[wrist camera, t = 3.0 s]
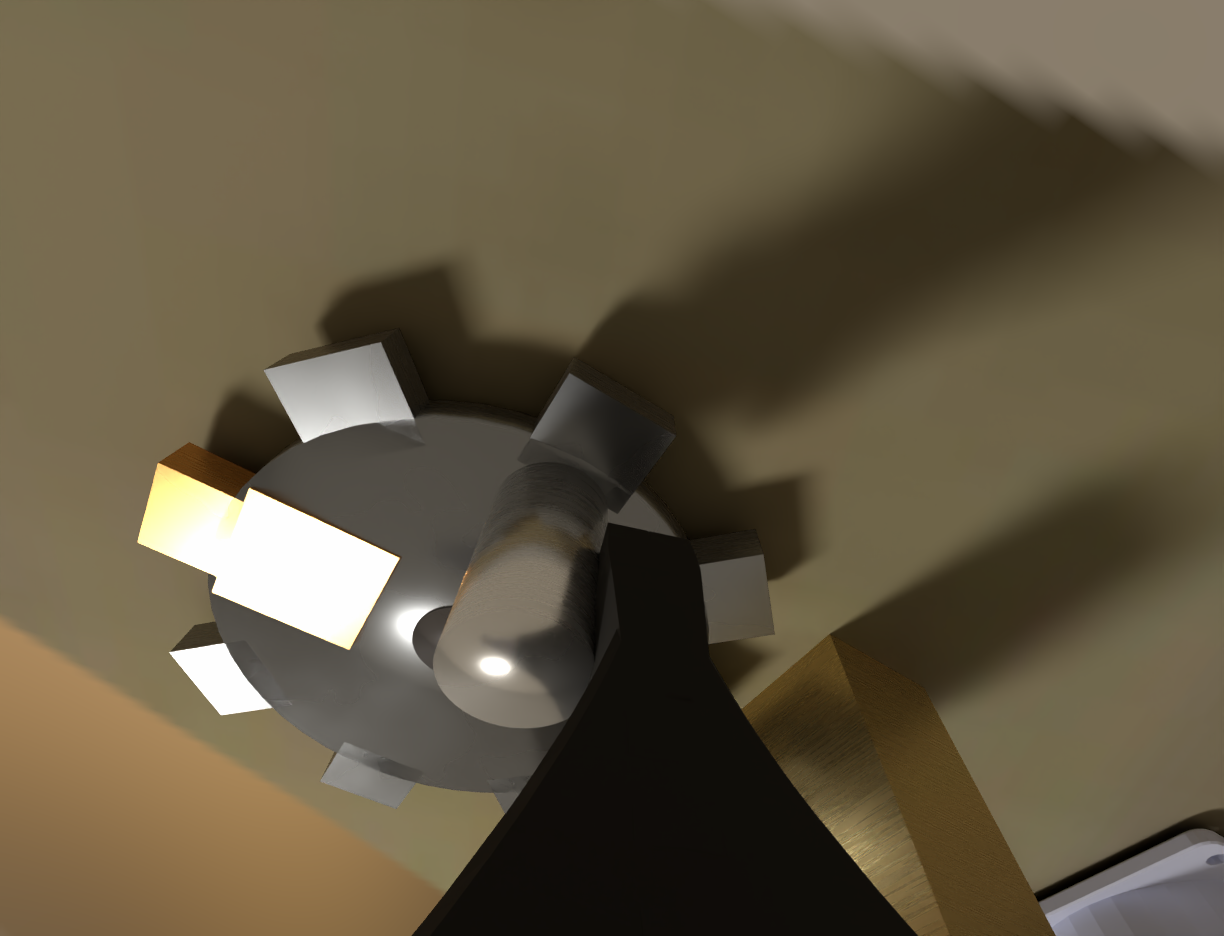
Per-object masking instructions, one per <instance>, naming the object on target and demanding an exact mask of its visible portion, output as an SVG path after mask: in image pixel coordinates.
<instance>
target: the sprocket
mask: <svg viewBox="0 0 1224 936" xmlns="http://www.w3.org/2000/svg"><path fill="white" fill-rule="evenodd" d="M264 371H265V373H266V375H267V377H268V379H269V380H270V382H271V384H272V386H273V388H274V390H275V391H276V393H277V395H278V397H279V399H280V401H281V403H282V404H283V406H284V408H285V410H286V412H287V414H288V415H289V417H290V419H291V421H292V423H293V425H294V426H295V428H296V430H297V432H298V434H299V436H300V438H299V439H297V440H296V441H294V442H293V443H291V444H290V445H289V446H287V447H286V448H285V449H284V450H282V451H281V452H280V453H279V454H278V455H277V456H276V457H274V458H273V459H272V460H271V461H270V462H269V463H267V464H266V465H265V466H264V467H263V468H262V469H261V470H260V471H259V472H258V473H257V474H255V473H253V472H251V471H249V470H247V469H244V468H242V467H240V466H238V465H236V464H234V463H232V462H230V461H228V460H226V459H223V458H221V457H219V456H217V455H215V454H213V453H211V452H209V451H207V450H204V449H202V448H200V447H198V446H196V445H194V444H192V443H190V442H189V443H187V444H186V445H184V446H183V447H181V448H180V449H178V450H177V451H175V452H174V453H172V454H171V455H169V456H168V457H166V458H165V459H163V460H162V461H160V462H159V463H158V466H157V469H156V473H155V477H154V481H153V485H152V489H151V493H150V496H149V500H148V504H147V508H146V512H145V516H144V520H143V523H142V527H141V531H140V535H139V539H138V543H140V544H143V545H145V546H147V547H150V548H152V549H154V550H157V551H159V552H161V553H164V554H166V555H168V556H171V557H173V558H175V559H178V560H180V561H182V562H185V563H187V564H189V565H192V566H194V567H196V568H199V569H201V570H204V571H206V572H208V587H209V594H210V601H211V608H212V611H213V615H214V618H215V621H216V622H210V623H205V624H199V625H194V626H193V628H192V629H191V630H190V631H189V632H188V633H187V634H186V635H185V636H184V637H183V638H182V640H181V641H180V642H179V643H178V644H177V645H176V646H175V647H174V648H173V649H172V650H171V652H170V654H171V655H172V656H173V657H174V658H175V660H176V661H177V662H178V663H179V665H180V666H181V667H182V668H183V669H184V671H185V672H186V673H187V674H188V675H189V677H190V678H191V679H192V680H193V682H194V683H195V684H196V685H197V686H198V688H199V689H200V690H201V691H202V693H203V694H204V695H205V696H206V697H207V699H208V700H209V701H210V702H211V703H212V705H213V706H214V707H215V708H216V710H217V711H218V712H219V713H220V714H221V715H225V714H232V713H239V712H246V711H253V710H260V709H266V708H274V709H275V710H276V711H277V712H278V713H279V714H280V715H281V716H282V717H284V718H285V719H286V720H287V721H289V722H290V723H291V724H293V725H294V726H295V727H297V728H298V729H299V730H300V731H302V732H303V733H305V734H306V735H308V736H309V737H311V738H312V739H314V740H316V741H317V742H319V743H320V744H322V745H324V746H325V747H327V748H329V749H331V750H333V751H334V754H333V756H332V758H331V760H330V762H329V764H328V766H327V768H326V770H325V772H324V774H323V776H322V778H321V780H320V781H321V782H323V783H326V784H329V785H332V786H334V787H337V788H340V789H343V790H345V791H348V792H351V793H354V794H356V795H359V796H362V797H365V798H367V799H370V800H373V801H376V802H379V803H381V804H384V805H387V806H390V807H392V808H395V809H397V807H398V806H399V805H400V803H401V802H402V801H403V799H404V798H405V797H406V795H407V794H408V793H409V791H410V790H411V789H412V787H413V786H414V785H415V783H420V784H424V785H428V786H434V787H439V788H445V789H451V790H460V791H471V792H489V793H494V794H495V796H496V798H497V800H498V801H499V803H500V805H501V807H502V809H503V811H504V812H505V814H506V812H507V811H508V809H509V808H510V807H511V805H512V804H513V802H514V801H515V800H516V798H517V797H518V795H519V794H520V792H521V791H522V789H523V788H524V787H525V785H526V784H527V782H528V781H529V779H530V778H531V776H532V775H533V773H534V772H535V770H536V769H537V767H538V766H539V764H540V763H541V761H542V760H543V758H544V757H545V755H546V753H547V752H548V750H549V749H550V747H551V746H552V744H553V743H554V741H555V740H556V738H557V737H558V735H559V734H560V732H561V730H562V729H563V727H564V726H565V724H566V722H567V721H568V719H569V717H570V716H571V714H572V712H573V711H574V709H575V707H576V706H577V704H578V702H579V700H580V699H581V697H582V695H583V694H584V692H585V690H586V688H587V686H588V682H589V679H590V675H591V672H592V669H593V665H594V654H595V594H596V584H597V574H598V564H599V554H600V549H601V546H602V542H603V538H604V535H605V531H606V527H607V523H608V522H609V523H614V524H618V525H623V526H628V527H632V528H637V529H642V530H646V531H648V532H649V531H651V532H656V533H661V534H665V535H670V536H675V537H679V538H684V539H687V537H686V535H685V533H684V531H683V529H682V527H681V526H680V525H679V523H678V522H677V520H676V519H675V517H674V516H673V514H672V513H671V511H670V510H669V508H668V507H667V505H666V504H665V503H664V502H663V501H662V500H661V499H660V498H659V496H658V495H657V494H656V493H655V492H654V491H653V490H652V489H651V488H650V487H649V486H648V484H647V483H646V482H645V481H644V478H645V477H646V476H647V474H648V473H649V472H650V470H651V469H652V468H653V466H654V465H655V464H656V462H657V461H658V460H659V458H660V457H661V456H662V454H663V453H664V452H665V450H666V449H667V448H668V446H669V445H670V444H671V442H672V441H673V440H674V438H675V437H676V430H675V424H674V417H673V415H671V414H669V413H667V412H666V411H664V410H662V409H661V408H659V407H657V406H656V405H654V404H652V403H651V402H649V401H647V400H646V399H644V398H642V397H641V396H639V395H637V394H636V393H634V392H632V391H631V390H629V389H627V388H626V387H624V386H622V385H621V384H619V383H617V382H615V381H614V380H612V379H610V378H609V377H607V376H605V375H604V374H602V373H600V372H599V371H597V370H595V369H594V368H592V367H590V366H589V365H587V364H585V363H584V362H582V361H580V360H579V359H577V358H575V357H574V358H573V359H572V361H571V363H570V364H569V366H568V368H567V369H566V371H565V373H564V374H563V376H562V377H561V379H560V381H559V382H558V384H557V386H556V387H555V389H554V391H553V392H552V394H551V396H550V397H549V399H548V401H547V402H546V404H545V406H544V407H543V409H542V410H541V412H540V414H539V415H538V417H537V418H536V417H533V416H530V415H528V414H525V413H522V412H518V411H513V410H509V409H504V408H500V407H495V406H491V405H486V404H479V403H469V402H459V401H449V400H434V401H429V399H428V396H427V394H426V391H425V389H424V387H423V384H422V382H421V379H420V377H419V374H418V372H417V370H416V367H415V365H414V362H413V360H412V358H411V355H410V353H409V350H408V348H407V345H406V343H405V341H404V338H403V336H402V333H401V331H400V329H399V328H397V329H392V330H388V331H384V332H380V333H376V334H372V335H367V336H363V337H359V338H355V339H351V340H347V341H342V342H338V343H334V344H330V345H326V346H322V347H317V348H313V349H309V350H305V351H301V352H297V353H292V354H289V355H288V356H286V357H284V358H283V359H281V360H279V361H278V362H276V363H274V364H273V365H271V366H269V367H268V368H266V369H264ZM689 541H690V543H691V545H692V547H693V549H694V552H695V554H696V557H697V560H698V563H699V566H700V569H701V576H702V586H703V595H704V605H705V616H706V628H707V639H708V644H712V643H719V642H725V641H732V640H739V639H746V638H753V637H760V636H766V635H773V634H775V632H774V625H773V618H772V611H771V604H770V597H769V590H768V583H767V575H766V568H765V561H764V554H763V551H762V548H761V545H760V542H759V539H758V535H757V532H756V529H752V530H746V531H741V532H735V533H729V534H723V535H717V536H711V537H706V538H700V539H694V540H689Z"/></svg>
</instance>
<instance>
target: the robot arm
mask: <svg viewBox="0 0 1224 936" xmlns="http://www.w3.org/2000/svg"><path fill="white" fill-rule="evenodd" d="M1038 903H1039V905H1040V907H1041V908H1042V910H1043V912H1044V914H1045V916H1046V918H1047V920H1048V922H1049V923H1050V925H1051V927H1052V929H1053V931H1054V933H1055V935H1056V936H1224V837H1222V836H1220V835H1218V834H1217V833H1215V832H1213V831H1210V830H1207V829H1192V830H1189V831H1186V832H1183V833H1181V834H1179V835H1177V836H1175V837H1173V838H1171V839H1169V840H1167V841H1165V842H1162V843H1160V844H1158V845H1156V846H1154V847H1152V848H1150V849H1148V850H1146V851H1144V852H1142V853H1140V854H1138V855H1135V856H1133V857H1131V858H1129V859H1127V860H1125V861H1123V862H1121V863H1119V864H1117V865H1115V866H1113V867H1110V868H1108V869H1106V870H1104V871H1102V872H1100V873H1098V874H1096V875H1094V876H1092V877H1090V878H1088V879H1085V880H1083V881H1081V882H1079V883H1077V884H1075V885H1073V886H1071V887H1069V888H1067V889H1065V890H1063V891H1060V892H1058V893H1056V894H1054V895H1052V896H1050V897H1048V898H1046V899H1044V900H1042V901H1040V902H1038ZM412 936H918V935H917V934H916V933H915V932H914V930H913V929H912V928H911V927H910V926H909V925H908V924H907V923H906V921H905V920H904V919H903V918H902V917H901V916H900V915H899V913H898V912H897V911H896V910H895V909H894V908H893V906H892V905H891V904H890V903H889V902H888V901H887V900H886V898H885V897H884V896H883V895H882V894H881V893H880V892H879V890H878V889H877V888H876V887H875V886H874V884H873V883H872V882H871V881H870V880H869V878H868V877H867V876H866V875H865V873H864V872H863V871H862V870H861V869H860V867H859V866H858V865H857V864H856V863H855V861H854V860H853V859H852V858H851V856H850V855H849V854H848V853H847V852H846V850H845V849H844V848H843V847H842V845H841V844H840V843H839V842H838V841H837V839H836V838H835V837H834V836H833V835H832V833H831V832H830V831H829V830H828V828H827V827H826V826H825V825H824V824H823V822H822V821H821V820H820V819H819V818H818V816H817V815H816V814H815V813H814V811H813V810H812V809H811V807H810V806H809V805H808V804H807V802H806V801H805V800H804V798H803V797H802V796H801V794H800V793H799V792H798V790H797V789H796V788H795V787H794V785H793V784H792V783H791V781H790V780H789V779H788V777H787V776H786V774H785V773H784V772H783V770H782V769H781V767H780V766H779V764H778V763H777V762H776V760H775V759H774V757H773V756H772V755H771V753H770V752H769V750H768V749H767V747H766V746H765V745H764V743H763V742H762V740H761V739H760V737H759V736H758V734H757V733H756V731H755V730H754V728H753V727H752V725H751V724H750V722H749V721H748V719H747V718H746V716H745V714H744V713H743V711H742V710H741V708H740V707H739V705H738V703H737V702H736V700H735V699H734V697H733V695H732V694H731V692H730V690H729V689H728V687H727V685H726V684H725V682H724V680H723V679H722V677H721V675H720V674H719V672H718V670H717V669H716V667H715V665H714V663H713V662H712V660H711V658H710V656H709V650H708V639H707V628H706V616H705V605H704V595H703V586H702V576H701V569H700V566H699V563H698V560H697V557H696V554H695V552H694V549H693V547H692V545H691V543H690V541H689V539H684V538H679V537H675V536H670V535H665V534H661V533H656V532H651V531H649V532H648V531H646V530H642V529H637V528H632V527H628V526H623V525H618V524H614V523H609V522H608V523H607V527H606V531H605V535H604V538H603V542H602V546H601V549H600V554H599V564H598V574H597V584H596V594H595V654H594V665H593V669H592V672H591V675H590V679H589V682H588V686H587V688H586V690H585V692H584V694H583V695H582V697H581V699H580V700H579V702H578V704H577V706H576V707H575V709H574V711H573V712H572V714H571V716H570V717H569V719H568V721H567V722H566V724H565V726H564V727H563V729H562V730H561V732H560V734H559V735H558V737H557V738H556V740H555V741H554V743H553V744H552V746H551V747H550V749H549V750H548V752H547V753H546V755H545V757H544V758H543V760H542V761H541V763H540V764H539V766H538V767H537V769H536V770H535V772H534V773H533V775H532V776H531V778H530V779H529V781H528V782H527V784H526V785H525V787H524V788H523V789H522V791H521V792H520V794H519V795H518V797H517V798H516V800H515V801H514V802H513V804H512V805H511V807H510V808H509V809H508V811H507V812H506V814H505V815H504V816H503V818H502V819H501V820H500V822H499V823H498V824H497V826H496V827H495V828H494V830H493V831H492V832H491V834H490V835H489V836H488V838H487V839H486V840H485V842H484V843H483V844H482V846H481V847H480V848H479V850H478V851H477V852H476V854H475V855H474V856H473V858H472V859H471V860H470V862H469V863H468V864H467V866H466V867H465V868H464V870H463V871H462V872H461V874H460V875H459V876H458V878H457V879H456V880H455V882H454V883H453V884H452V886H451V887H450V888H449V890H448V891H447V892H446V894H445V895H444V896H443V897H442V899H441V900H440V901H439V902H438V904H437V905H436V906H435V907H434V909H433V910H432V911H431V913H430V914H429V915H428V916H427V918H426V919H425V920H424V921H423V923H422V924H421V925H420V926H419V927H418V929H417V930H416V931H415V932H414V934H413V935H412Z"/></svg>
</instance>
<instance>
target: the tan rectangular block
mask: <svg viewBox="0 0 1224 936" xmlns="http://www.w3.org/2000/svg"><path fill="white" fill-rule="evenodd" d="M741 710H742V711H743V713H744V714H745V716H746V718H747V719H748V721H749V722H750V724H751V725H752V727H753V728H754V730H755V731H756V733H757V734H758V736H759V737H760V739H761V740H762V742H763V743H764V745H765V746H766V747H767V749H768V750H769V752H770V753H771V755H772V756H773V757H774V759H775V760H776V762H777V763H778V764H779V766H780V767H781V769H782V770H783V772H784V773H785V774H786V776H787V777H788V779H789V780H790V781H791V783H792V784H793V785H794V787H795V788H796V789H797V790H798V792H799V793H800V794H801V796H802V797H803V798H804V800H805V801H806V802H807V804H808V805H809V806H810V807H811V809H812V810H813V811H814V813H815V814H816V815H817V816H818V818H819V819H820V820H821V821H822V822H823V824H824V825H825V826H826V827H827V828H828V830H829V831H830V832H831V833H832V835H833V836H834V837H835V838H836V839H837V841H838V842H839V843H840V844H841V845H842V847H843V848H844V849H845V850H846V852H847V853H848V854H849V855H850V856H851V858H852V859H853V860H854V861H855V863H856V864H857V865H858V866H859V867H860V869H861V870H862V871H863V872H864V873H865V875H866V876H867V877H868V878H869V880H870V881H871V882H872V883H873V884H874V886H875V887H876V888H877V889H878V890H879V892H880V893H881V894H882V895H883V896H884V897H885V898H886V900H887V901H888V902H889V903H890V904H891V905H892V906H893V908H894V909H895V910H896V911H897V912H898V913H899V915H900V916H901V917H902V918H903V919H904V920H905V921H906V923H907V924H908V925H909V926H910V927H911V928H912V929H913V930H914V932H915V933H916V934H917V935H918V936H1056V935H1055V933H1054V931H1053V929H1052V927H1051V925H1050V923H1049V922H1048V920H1047V918H1046V916H1045V914H1044V912H1043V910H1042V908H1041V907H1040V905H1039V903H1038V901H1037V899H1036V897H1035V895H1034V893H1033V892H1032V890H1031V888H1030V886H1029V884H1028V882H1027V880H1026V878H1025V877H1024V875H1023V873H1022V871H1021V869H1020V867H1019V865H1018V863H1017V862H1016V860H1015V858H1014V856H1013V854H1012V852H1011V850H1010V848H1009V846H1008V845H1007V843H1006V841H1005V839H1004V837H1003V835H1002V833H1001V831H1000V830H999V828H998V826H997V824H996V822H995V820H994V818H993V816H992V815H991V813H990V811H989V809H988V807H987V805H986V803H985V801H984V800H983V798H982V796H981V794H980V792H979V790H978V788H977V786H976V785H975V783H974V781H973V779H972V777H971V775H970V773H969V771H968V770H967V768H966V766H965V764H964V762H963V760H962V758H961V756H960V755H959V753H958V751H957V749H956V747H955V745H954V743H953V741H952V740H951V738H950V736H949V734H948V732H947V730H946V728H945V726H944V724H943V723H942V721H941V719H940V717H939V715H938V713H937V711H936V709H935V708H934V706H933V704H932V702H931V700H930V698H929V696H928V694H927V693H926V691H925V689H924V688H923V687H922V686H920V685H918V684H916V683H915V682H913V681H911V680H909V679H908V678H906V677H904V676H902V675H901V674H899V673H897V672H895V671H894V670H892V669H890V668H888V667H887V666H885V665H883V664H881V663H880V662H878V661H876V660H874V659H873V658H871V657H869V656H867V655H866V654H864V653H862V652H860V651H859V650H857V649H855V648H853V647H852V646H850V645H848V644H846V643H845V642H843V641H841V640H839V639H838V638H836V637H834V636H832V635H831V634H829V635H828V636H827V637H826V638H824V639H823V640H822V641H821V642H820V643H819V644H817V645H816V646H815V647H814V648H813V649H812V650H810V651H809V652H808V653H807V654H806V655H805V656H803V657H802V658H801V659H800V660H799V661H798V662H796V663H795V664H794V665H793V666H792V667H791V668H789V669H788V670H787V671H786V672H785V673H784V674H782V675H781V676H780V677H779V678H778V679H776V680H775V681H774V682H773V683H772V684H771V685H769V686H768V687H767V688H766V689H765V690H764V691H762V692H761V693H760V694H759V695H758V696H757V697H755V698H754V699H753V700H752V701H751V702H750V703H748V704H747V705H746V706H745V707H744V708H743V709H741Z"/></svg>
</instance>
